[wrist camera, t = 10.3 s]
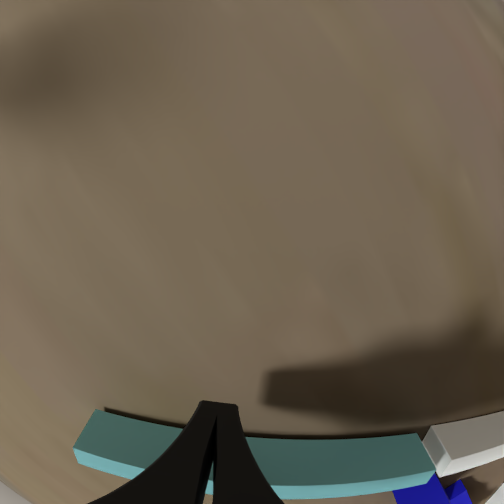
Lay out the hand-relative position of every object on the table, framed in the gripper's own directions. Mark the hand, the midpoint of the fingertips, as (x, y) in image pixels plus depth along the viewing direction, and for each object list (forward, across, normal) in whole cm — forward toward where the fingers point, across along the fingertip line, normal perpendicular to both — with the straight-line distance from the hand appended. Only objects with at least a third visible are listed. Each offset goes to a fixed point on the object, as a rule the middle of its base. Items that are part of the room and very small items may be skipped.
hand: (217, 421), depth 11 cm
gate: (+2, -2, +4) cm, 5 cm away
